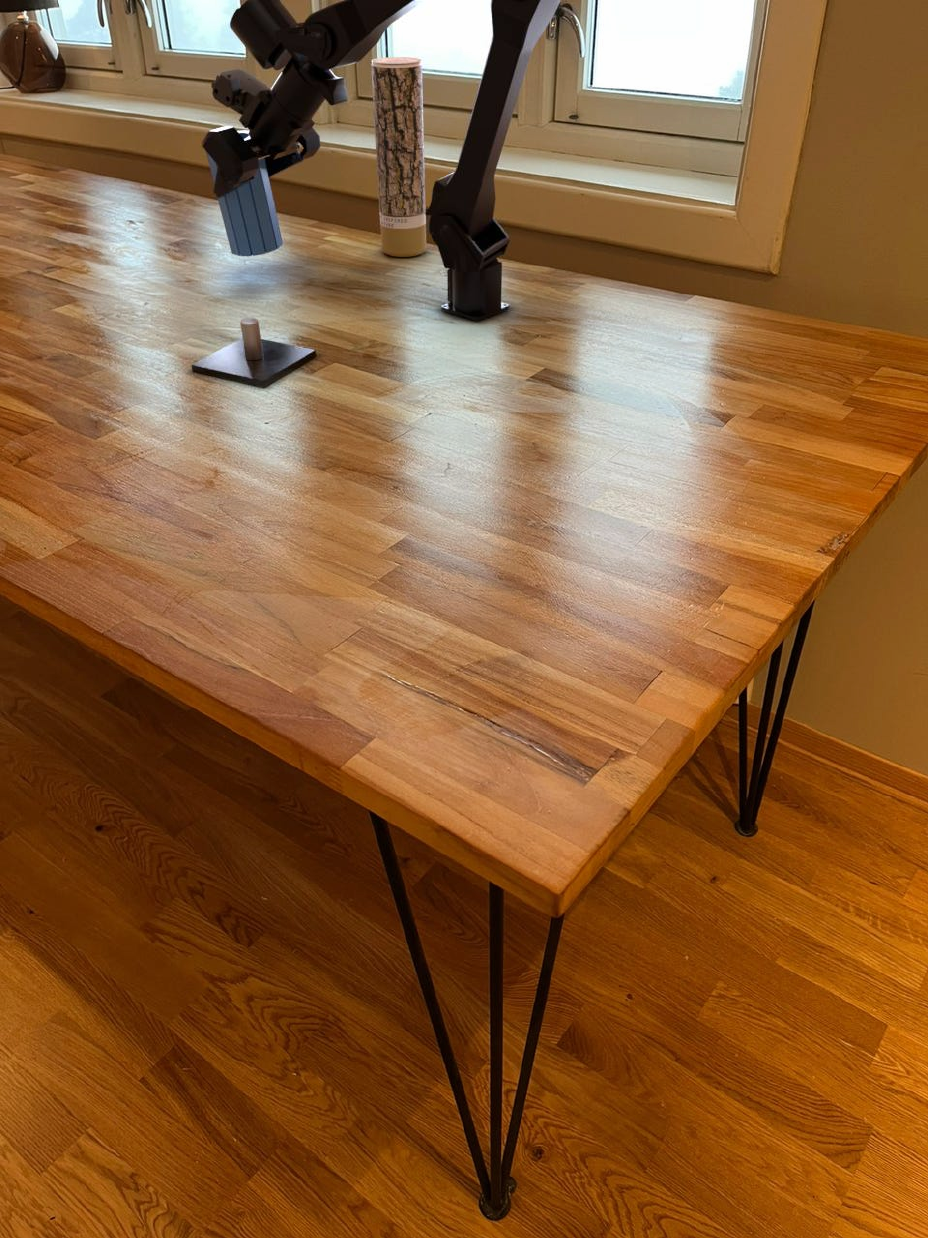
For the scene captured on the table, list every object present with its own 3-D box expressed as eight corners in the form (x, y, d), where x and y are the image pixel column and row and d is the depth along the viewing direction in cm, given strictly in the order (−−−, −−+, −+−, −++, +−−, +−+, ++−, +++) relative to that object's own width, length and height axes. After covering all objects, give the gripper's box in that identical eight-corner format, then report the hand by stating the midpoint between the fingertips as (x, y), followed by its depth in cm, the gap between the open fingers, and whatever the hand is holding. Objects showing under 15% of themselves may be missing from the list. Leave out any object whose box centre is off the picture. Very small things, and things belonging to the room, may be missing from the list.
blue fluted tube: (292, 243, 130) (269, 133, 121) (250, 259, 126) (223, 147, 117) (263, 234, 134) (238, 127, 125) (221, 250, 130) (192, 141, 121)
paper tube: (420, 259, 137) (414, 64, 122) (376, 256, 139) (365, 62, 123) (431, 246, 143) (426, 57, 128) (388, 244, 144) (378, 56, 129)
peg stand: (316, 356, 108) (312, 313, 105) (264, 388, 101) (258, 343, 98) (247, 342, 112) (241, 300, 109) (192, 371, 105) (184, 327, 102)
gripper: (291, 37, 120) (234, 126, 131) (200, 54, 107) (145, 151, 117) (348, 110, 122) (288, 192, 133) (266, 135, 109) (207, 224, 119)
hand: (234, 188), depth 126 cm, fingers closed on blue fluted tube, 7 cm apart
